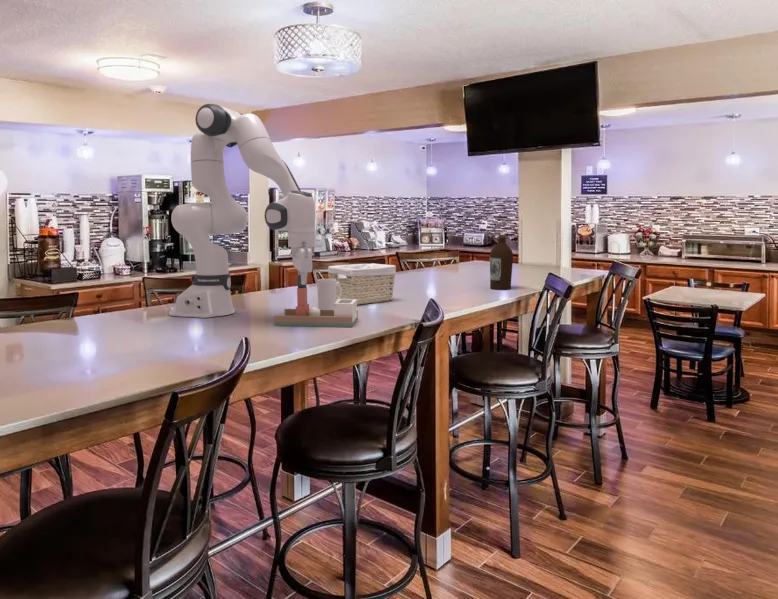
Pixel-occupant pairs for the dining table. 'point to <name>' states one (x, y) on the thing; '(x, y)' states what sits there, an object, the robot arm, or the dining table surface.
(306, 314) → the post
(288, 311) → the board
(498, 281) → the olive oil
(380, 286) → the storage basket
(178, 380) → the dining table surface
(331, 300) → the mug
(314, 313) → the ball
